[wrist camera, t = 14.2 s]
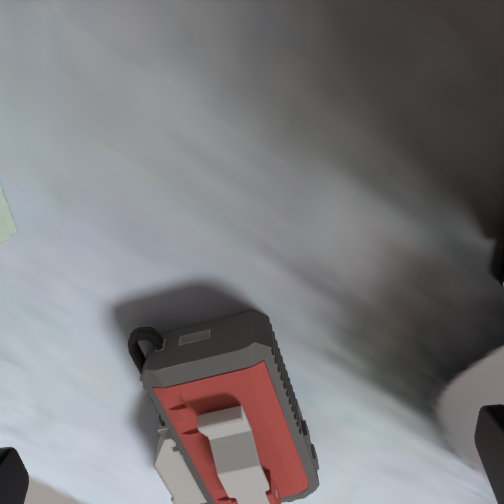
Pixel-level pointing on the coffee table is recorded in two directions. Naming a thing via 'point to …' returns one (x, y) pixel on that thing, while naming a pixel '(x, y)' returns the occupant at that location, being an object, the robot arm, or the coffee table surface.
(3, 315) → the coffee table surface
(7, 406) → the coffee table surface
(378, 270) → the coffee table surface
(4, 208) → the stand
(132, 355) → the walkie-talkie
